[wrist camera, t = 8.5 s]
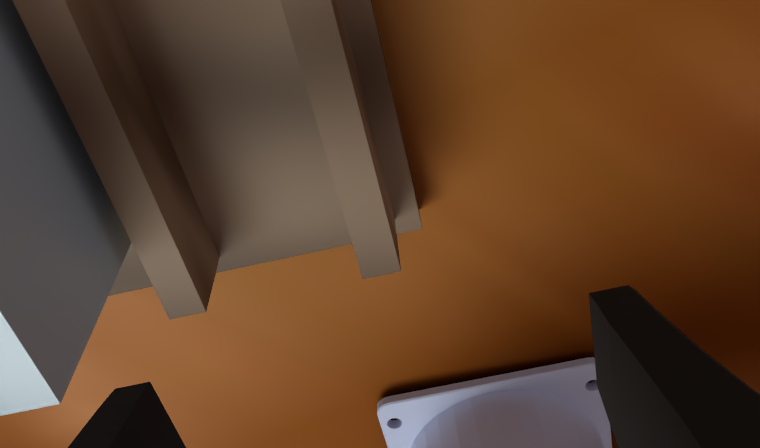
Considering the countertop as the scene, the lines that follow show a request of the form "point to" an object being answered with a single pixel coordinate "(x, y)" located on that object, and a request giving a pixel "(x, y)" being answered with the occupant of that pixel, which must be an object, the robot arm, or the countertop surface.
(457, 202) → the countertop surface
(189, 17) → the rack
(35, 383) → the grey block
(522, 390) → the robot arm
